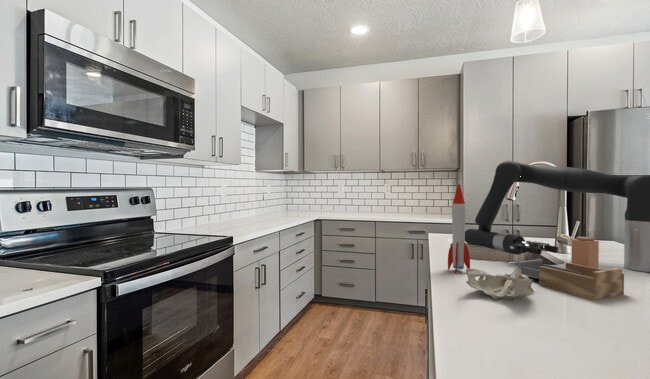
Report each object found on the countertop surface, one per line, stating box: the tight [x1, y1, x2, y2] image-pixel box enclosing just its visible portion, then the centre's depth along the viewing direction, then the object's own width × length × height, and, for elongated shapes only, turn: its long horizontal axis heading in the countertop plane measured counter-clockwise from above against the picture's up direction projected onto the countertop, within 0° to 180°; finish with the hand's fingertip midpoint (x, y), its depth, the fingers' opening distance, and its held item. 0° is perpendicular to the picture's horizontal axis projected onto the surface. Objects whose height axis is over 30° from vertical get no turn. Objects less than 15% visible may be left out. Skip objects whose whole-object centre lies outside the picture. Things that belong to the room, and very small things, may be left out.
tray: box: [517, 258, 582, 280], centre depth 103 cm, size 10×13×4 cm
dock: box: [538, 262, 625, 301], centre depth 95 cm, size 13×14×7 cm
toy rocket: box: [447, 183, 471, 274], centre depth 115 cm, size 6×6×30 cm
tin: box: [571, 236, 600, 269], centre depth 107 cm, size 5×5×13 cm
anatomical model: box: [465, 265, 534, 301], centre depth 90 cm, size 15×9×25 cm
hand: (549, 250), depth 118 cm, fingers open, 8 cm apart
